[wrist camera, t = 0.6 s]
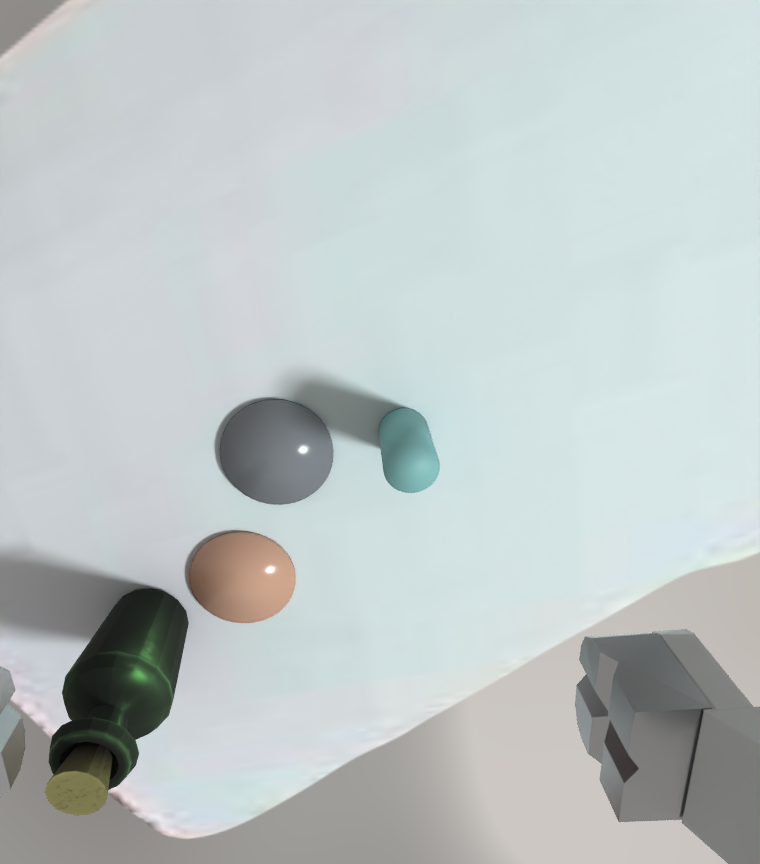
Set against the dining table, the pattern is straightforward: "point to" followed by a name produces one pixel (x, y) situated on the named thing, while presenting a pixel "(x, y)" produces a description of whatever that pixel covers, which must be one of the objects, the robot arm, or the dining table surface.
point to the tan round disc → (242, 577)
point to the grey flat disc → (276, 452)
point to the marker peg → (407, 451)
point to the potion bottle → (116, 698)
